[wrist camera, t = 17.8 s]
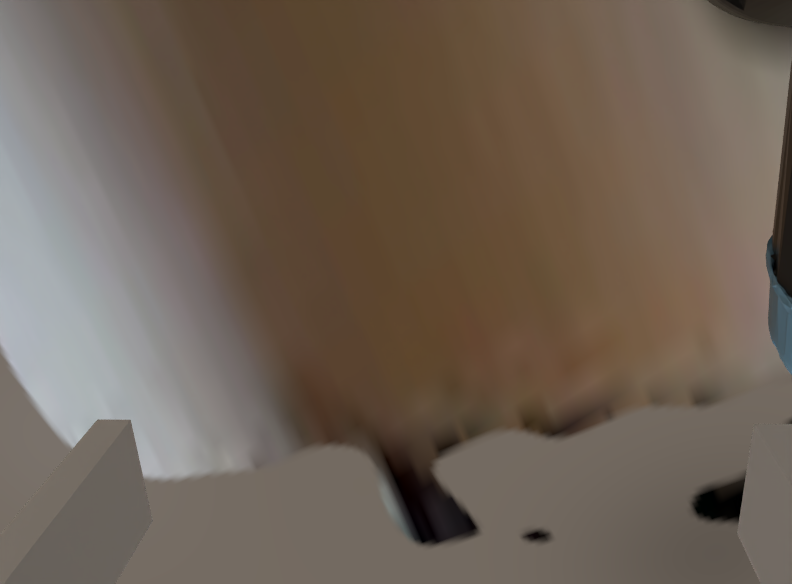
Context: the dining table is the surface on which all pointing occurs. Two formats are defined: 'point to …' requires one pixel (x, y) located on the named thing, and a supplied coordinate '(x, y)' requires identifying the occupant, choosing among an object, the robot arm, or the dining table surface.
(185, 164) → the dining table surface
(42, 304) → the dining table surface
